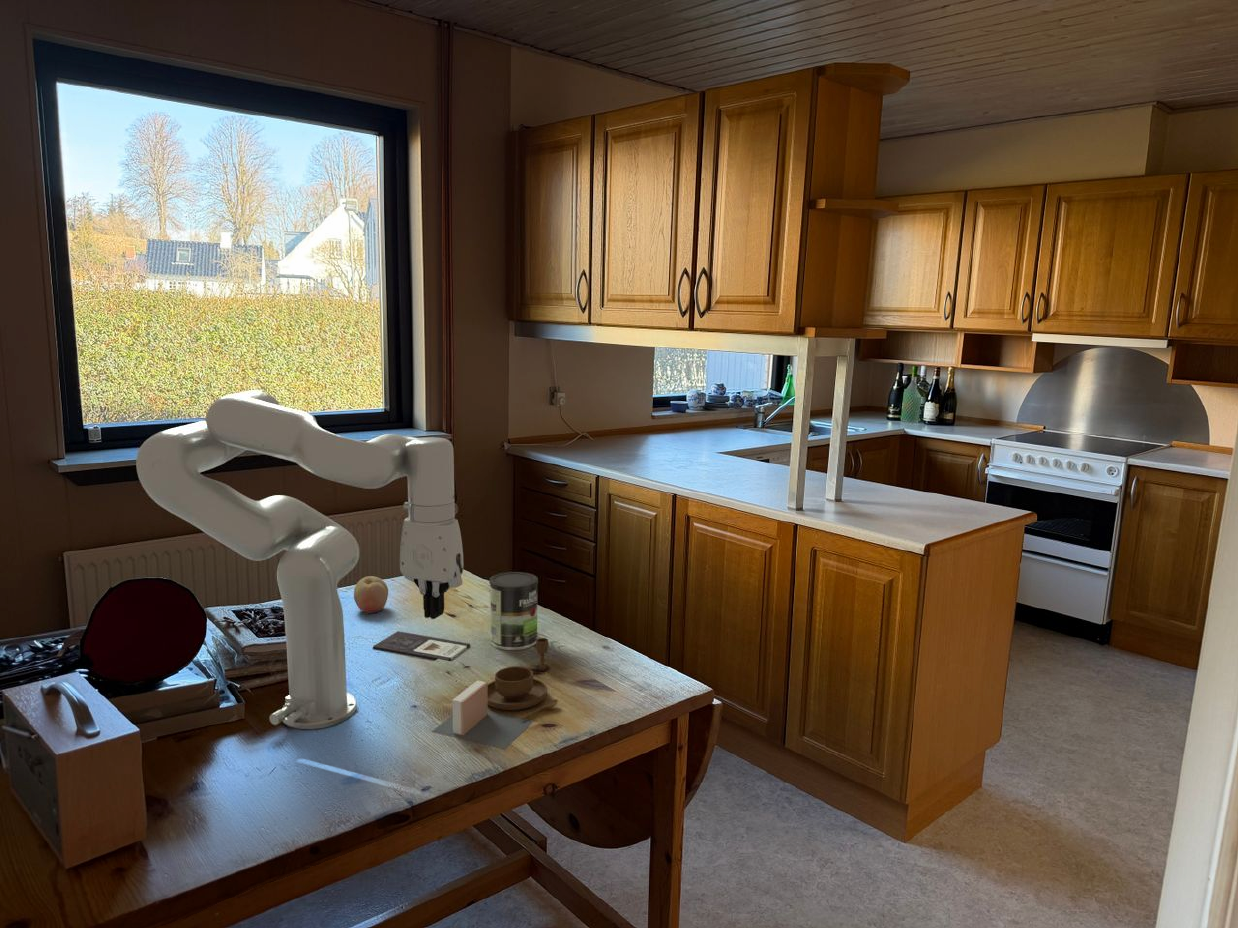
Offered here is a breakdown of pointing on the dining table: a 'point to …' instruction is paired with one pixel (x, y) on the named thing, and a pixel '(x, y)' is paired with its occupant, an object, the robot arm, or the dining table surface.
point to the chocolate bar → (421, 646)
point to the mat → (489, 730)
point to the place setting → (520, 686)
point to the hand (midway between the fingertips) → (434, 615)
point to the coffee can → (513, 610)
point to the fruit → (371, 594)
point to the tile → (470, 707)
